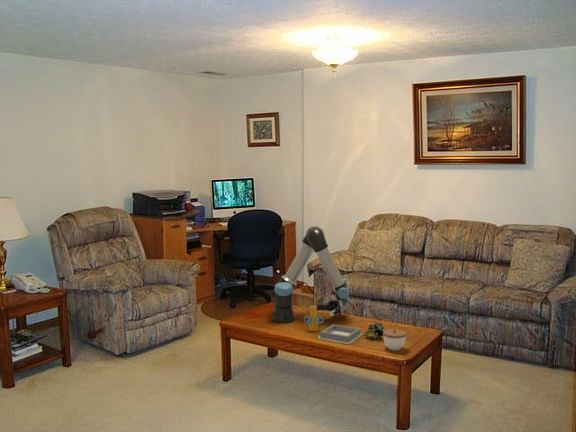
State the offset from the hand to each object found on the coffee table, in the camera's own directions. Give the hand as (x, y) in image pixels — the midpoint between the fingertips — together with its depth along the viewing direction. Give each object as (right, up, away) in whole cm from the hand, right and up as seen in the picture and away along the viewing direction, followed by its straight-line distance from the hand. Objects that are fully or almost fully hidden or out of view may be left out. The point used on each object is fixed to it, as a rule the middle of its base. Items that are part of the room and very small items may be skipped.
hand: (320, 312), depth 360 cm
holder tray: (+11, -11, -20) cm, 26 cm away
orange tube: (-5, -9, -7) cm, 13 cm away
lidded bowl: (+39, -13, -40) cm, 57 cm away
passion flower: (+31, -11, -23) cm, 40 cm away
